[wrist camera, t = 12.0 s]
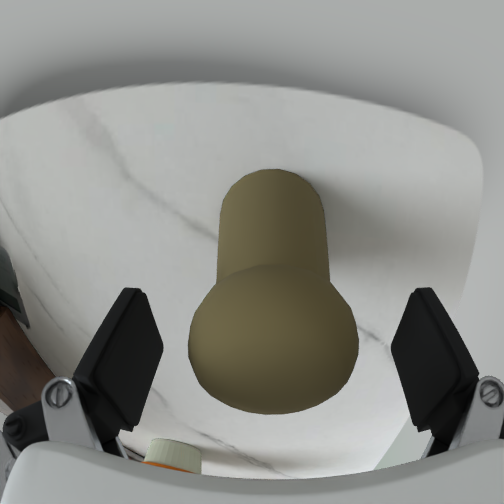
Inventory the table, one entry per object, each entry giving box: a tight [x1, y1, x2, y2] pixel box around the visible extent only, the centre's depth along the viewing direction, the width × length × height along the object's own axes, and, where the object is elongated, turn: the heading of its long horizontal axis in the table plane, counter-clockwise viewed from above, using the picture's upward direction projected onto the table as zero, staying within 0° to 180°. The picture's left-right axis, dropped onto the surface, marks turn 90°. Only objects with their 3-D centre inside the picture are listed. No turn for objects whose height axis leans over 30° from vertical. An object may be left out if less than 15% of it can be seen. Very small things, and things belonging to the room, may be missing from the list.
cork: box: [188, 169, 359, 415], centre depth 12 cm, size 6×6×11 cm
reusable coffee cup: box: [141, 439, 201, 474], centre depth 32 cm, size 13×13×15 cm
